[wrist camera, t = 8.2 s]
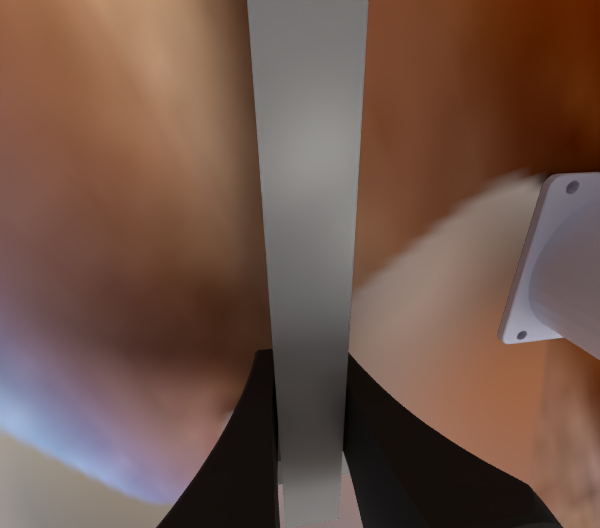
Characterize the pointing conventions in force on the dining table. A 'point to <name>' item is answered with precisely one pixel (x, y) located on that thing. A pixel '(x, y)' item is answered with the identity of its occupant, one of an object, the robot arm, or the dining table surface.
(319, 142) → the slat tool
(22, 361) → the dining table surface
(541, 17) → the dining table surface
